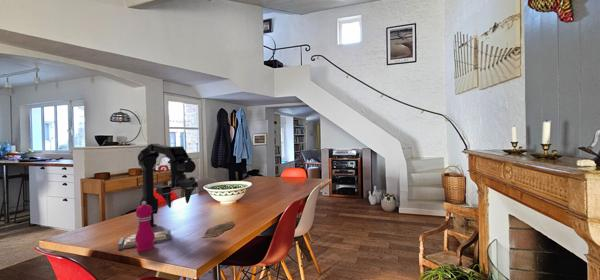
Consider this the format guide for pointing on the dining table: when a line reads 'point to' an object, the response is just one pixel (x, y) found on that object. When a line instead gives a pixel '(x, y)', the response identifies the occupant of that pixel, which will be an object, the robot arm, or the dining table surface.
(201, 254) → the dining table surface
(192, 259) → the dining table surface
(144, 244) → the pepper mill
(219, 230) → the wooden fragment
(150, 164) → the robot arm
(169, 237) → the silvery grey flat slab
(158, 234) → the birch offcut stack
